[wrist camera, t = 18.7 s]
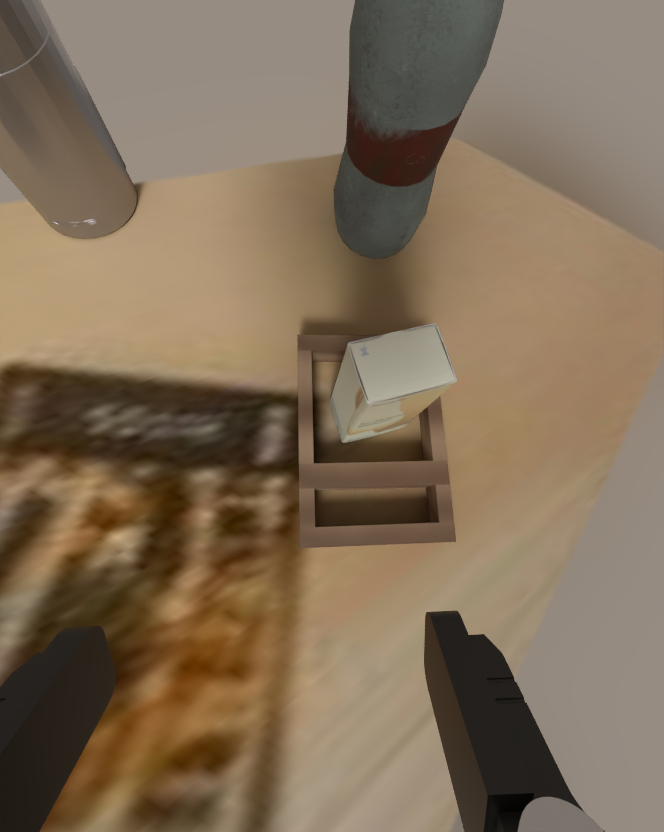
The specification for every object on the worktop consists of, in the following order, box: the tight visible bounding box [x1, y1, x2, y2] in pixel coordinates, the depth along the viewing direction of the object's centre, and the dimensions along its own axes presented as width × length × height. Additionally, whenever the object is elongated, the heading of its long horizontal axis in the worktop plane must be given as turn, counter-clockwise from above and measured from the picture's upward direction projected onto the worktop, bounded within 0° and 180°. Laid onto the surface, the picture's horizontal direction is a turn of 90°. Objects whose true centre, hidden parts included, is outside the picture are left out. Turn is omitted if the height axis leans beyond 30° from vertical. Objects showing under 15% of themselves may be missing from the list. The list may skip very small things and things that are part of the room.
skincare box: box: [330, 323, 457, 443], centre depth 29 cm, size 6×4×12 cm
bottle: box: [334, 0, 504, 258], centre depth 26 cm, size 9×9×30 cm
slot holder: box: [298, 335, 456, 548], centre depth 33 cm, size 18×12×2 cm
